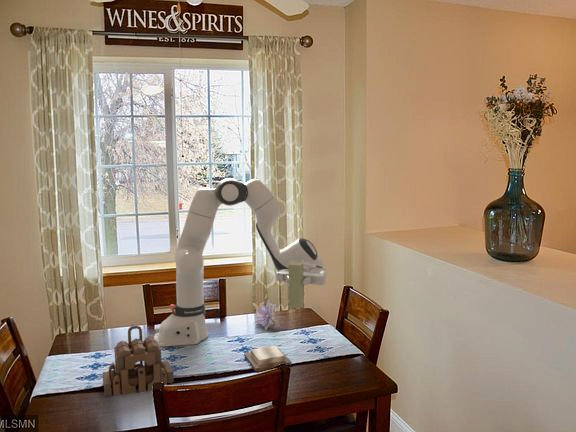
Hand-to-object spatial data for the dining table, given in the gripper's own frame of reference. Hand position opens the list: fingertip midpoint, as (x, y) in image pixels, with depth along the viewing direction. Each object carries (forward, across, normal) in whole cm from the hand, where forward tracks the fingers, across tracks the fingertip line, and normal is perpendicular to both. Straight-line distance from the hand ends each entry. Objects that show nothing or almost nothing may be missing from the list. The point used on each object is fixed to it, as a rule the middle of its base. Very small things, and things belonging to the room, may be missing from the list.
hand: (295, 282), depth 189 cm
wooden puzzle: (+42, -43, +28) cm, 66 cm away
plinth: (+12, -7, +28) cm, 31 cm away
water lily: (-23, -22, +28) cm, 43 cm away
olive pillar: (-1, 0, +10) cm, 10 cm away
